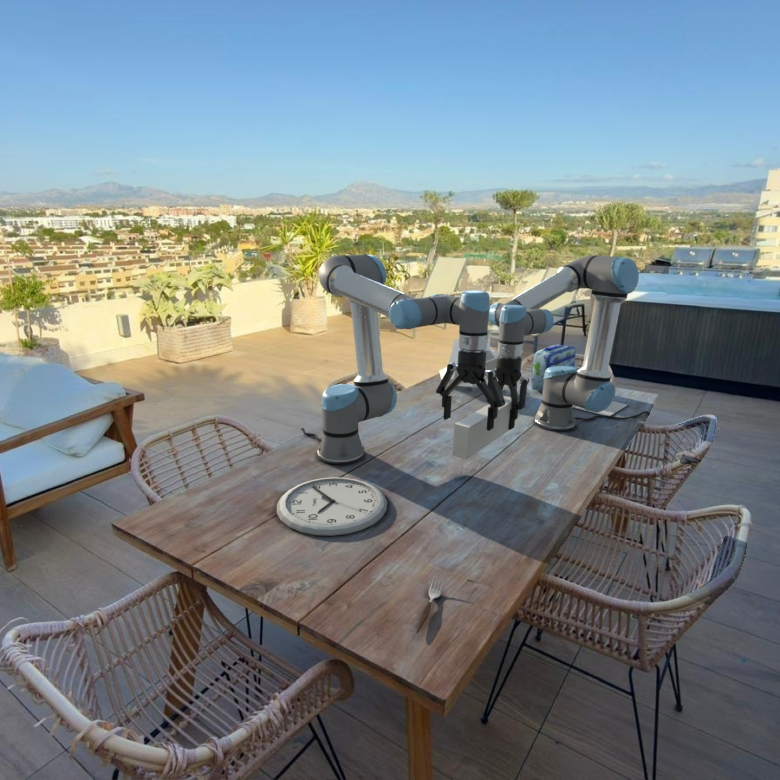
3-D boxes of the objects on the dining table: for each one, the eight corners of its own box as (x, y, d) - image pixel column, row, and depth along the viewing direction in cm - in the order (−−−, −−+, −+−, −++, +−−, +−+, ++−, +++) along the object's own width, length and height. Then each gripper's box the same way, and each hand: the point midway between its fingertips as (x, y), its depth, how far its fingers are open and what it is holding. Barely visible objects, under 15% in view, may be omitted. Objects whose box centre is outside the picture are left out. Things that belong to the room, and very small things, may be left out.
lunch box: (547, 397, 237) (552, 352, 231) (526, 391, 245) (531, 348, 238) (574, 386, 255) (580, 344, 249) (554, 381, 262) (559, 340, 256)
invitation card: (608, 416, 214) (573, 407, 224) (608, 416, 214) (573, 408, 224) (628, 404, 229) (594, 396, 238) (628, 405, 229) (594, 397, 238)
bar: (501, 423, 172) (503, 395, 169) (514, 426, 170) (517, 398, 167) (452, 455, 148) (454, 423, 145) (466, 459, 145) (468, 427, 142)
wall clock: (392, 527, 129) (268, 531, 127) (391, 533, 130) (269, 537, 127) (383, 473, 158) (282, 475, 155) (383, 478, 158) (282, 480, 156)
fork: (410, 633, 98) (410, 625, 97) (432, 582, 112) (433, 574, 112) (423, 637, 97) (423, 628, 96) (444, 585, 111) (445, 577, 111)
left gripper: (425, 345, 144) (423, 417, 151) (509, 359, 130) (503, 438, 136) (440, 341, 150) (437, 410, 156) (521, 353, 136) (515, 429, 142)
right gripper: (478, 353, 163) (473, 423, 170) (532, 362, 153) (524, 436, 160) (489, 349, 169) (484, 417, 176) (541, 358, 159) (534, 429, 166)
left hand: (468, 423), depth 146 cm, fingers open, 13 cm apart
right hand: (503, 426), depth 168 cm, fingers closed on bar, 5 cm apart
